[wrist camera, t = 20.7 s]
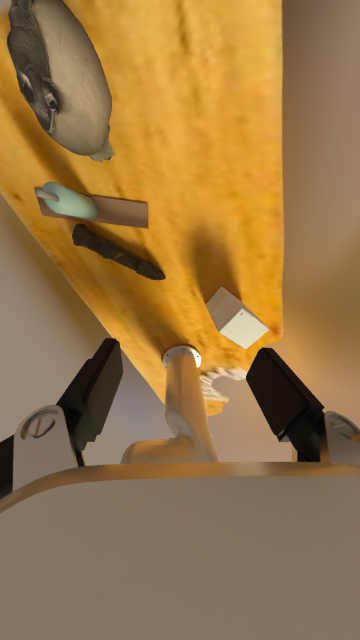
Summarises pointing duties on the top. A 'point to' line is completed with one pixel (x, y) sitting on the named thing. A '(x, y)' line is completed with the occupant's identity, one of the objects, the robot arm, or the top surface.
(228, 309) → the small box
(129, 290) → the top surface
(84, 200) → the green ice pop
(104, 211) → the joist strip
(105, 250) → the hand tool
